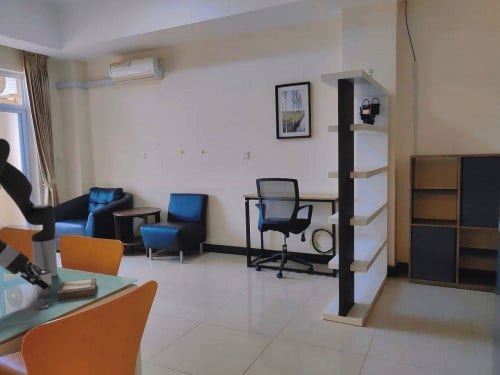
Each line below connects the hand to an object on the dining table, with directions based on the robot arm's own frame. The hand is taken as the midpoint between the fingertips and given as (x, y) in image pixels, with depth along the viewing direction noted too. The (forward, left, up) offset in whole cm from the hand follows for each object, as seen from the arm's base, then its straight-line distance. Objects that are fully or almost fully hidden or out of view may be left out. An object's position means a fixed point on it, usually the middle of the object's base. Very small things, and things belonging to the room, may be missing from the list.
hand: (48, 283), depth 149 cm
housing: (0, -1, -5) cm, 5 cm away
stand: (+1, +11, -5) cm, 12 cm away
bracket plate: (+11, 0, -5) cm, 12 cm away
